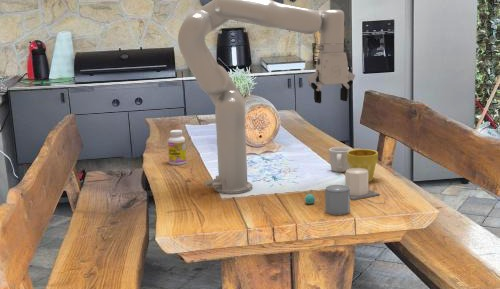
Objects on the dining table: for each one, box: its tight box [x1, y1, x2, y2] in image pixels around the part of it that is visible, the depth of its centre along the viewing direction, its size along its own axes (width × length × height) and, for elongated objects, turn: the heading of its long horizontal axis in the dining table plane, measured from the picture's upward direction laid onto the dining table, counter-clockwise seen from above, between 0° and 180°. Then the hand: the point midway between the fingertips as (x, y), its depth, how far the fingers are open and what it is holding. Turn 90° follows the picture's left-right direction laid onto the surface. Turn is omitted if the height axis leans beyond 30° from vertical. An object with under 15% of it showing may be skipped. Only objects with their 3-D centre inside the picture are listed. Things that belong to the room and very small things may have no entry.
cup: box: [328, 146, 352, 173], centre depth 258 cm, size 11×8×8 cm
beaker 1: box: [324, 184, 351, 216], centre depth 213 cm, size 7×7×7 cm
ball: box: [304, 193, 316, 205], centre depth 222 cm, size 3×3×3 cm
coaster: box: [350, 189, 380, 201], centre depth 231 cm, size 10×10×1 cm
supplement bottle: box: [167, 129, 187, 166], centre depth 279 cm, size 7×7×13 cm
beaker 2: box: [344, 168, 369, 196], centre depth 230 cm, size 7×7×7 cm
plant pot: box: [347, 148, 379, 183], centre depth 246 cm, size 10×10×10 cm
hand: (330, 101), depth 236 cm, fingers open, 9 cm apart
